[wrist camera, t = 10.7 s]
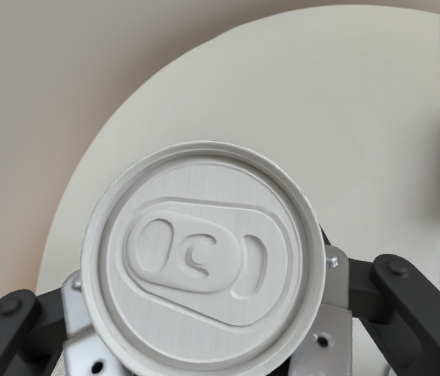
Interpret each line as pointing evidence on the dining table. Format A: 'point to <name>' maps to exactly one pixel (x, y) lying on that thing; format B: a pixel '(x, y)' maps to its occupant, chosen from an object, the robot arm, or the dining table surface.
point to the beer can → (203, 263)
